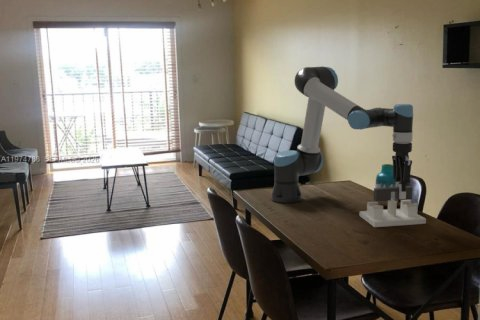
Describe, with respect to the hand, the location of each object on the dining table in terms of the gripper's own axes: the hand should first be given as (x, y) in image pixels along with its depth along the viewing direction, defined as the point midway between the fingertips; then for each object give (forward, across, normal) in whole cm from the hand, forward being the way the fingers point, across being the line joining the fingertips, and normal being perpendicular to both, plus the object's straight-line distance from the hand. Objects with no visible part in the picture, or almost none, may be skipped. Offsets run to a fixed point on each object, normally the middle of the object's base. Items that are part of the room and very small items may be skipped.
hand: (400, 197), depth 208 cm
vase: (+9, -20, +3) cm, 23 cm away
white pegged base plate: (+9, 0, -4) cm, 10 cm away
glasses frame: (0, 0, -3) cm, 3 cm away
